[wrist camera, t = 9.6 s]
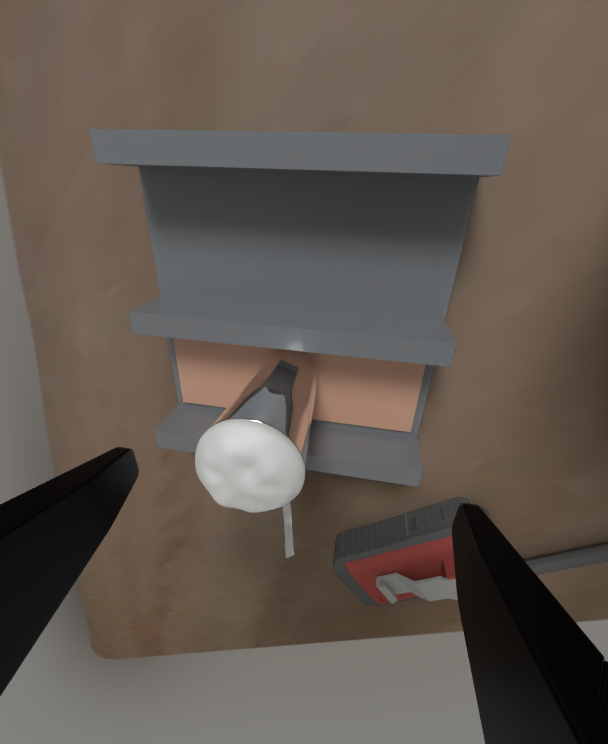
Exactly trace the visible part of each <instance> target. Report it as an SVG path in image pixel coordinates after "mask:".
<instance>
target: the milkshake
mask: <svg viewBox="0 0 608 744" xmlns="http://www.w3.org/2000/svg"><path fill="white" fill-rule="evenodd" d="M316 388H317V374H316V366H315V365H314V364H313V363H312V362H311V361H310V359H309V358H308V357H307V356H306V355H305V354H303V353H299V352H296V351H292V350H284V351H281V352H279V353H276V354H273V355H272V356H271V357H270V358H269V359H268V360H267V361H266V363H265V364H264V365H263V366H262V368H261V369H260V370H259V371H258V372H257V374H256V375H255V376H254V377H253V378H252V380H251V381H250V382H249V383H248V385H247V386H246V387H245V388H244V389H243V391H242V392H241V393H240V394H239V395H238V396H237V397H236V399H235V400H234V401H233V402H232V403H231V404H230V405H229V406H228V407H227V408H226V410H225V411H224V412H223V413H222V414H221V415H220V416H219V417H218V418H217V419H216V421H215V422H214V423H213V424H212V425H211V426H210V427H209V428H208V429H207V431H206V432H205V433H204V434H203V435H202V437H201V438H200V440H199V442H198V445H197V448H196V455H195V466H196V472H197V475H198V477H199V479H200V480H201V482H202V484H203V485H204V486H205V487H206V489H207V490H208V491H209V493H210V494H211V496H212V497H213V499H214V500H215V501H216V502H217V503H218V504H220V505H222V506H225V507H231V508H238V509H241V510H244V511H247V512H251V513H256V512H264V511H269V510H273V509H276V508H279V507H282V506H283V524H284V541H285V556H286V558H288V557H290V556H293V555H294V540H293V526H292V513H291V501H292V500H293V499H294V498H295V497H296V496H297V495H298V494H299V493H300V491H301V489H302V487H303V484H304V480H305V471H306V462H307V453H308V443H309V434H310V427H311V421H312V414H313V408H314V401H315V395H316Z"/></svg>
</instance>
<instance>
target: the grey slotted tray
mask: <svg viewBox="0 0 608 744" xmlns="http://www.w3.org/2000/svg"><path fill="white" fill-rule="evenodd" d="M89 132H90V137H91V141H92V146H93V151H94V155H95V160H96V163H98V164H111V165H124V166H136V167H139V173H140V179H141V185H142V191H143V197H144V202H145V208H146V214H147V220H148V226H149V232H150V238H151V244H152V250H153V256H154V262H155V267H156V273H157V279H158V285H159V291H160V296H159V297H157V298H155V299H153V300H151V301H149V302H147V303H145V304H143V305H141V306H139V307H137V308H135V309H133V310H131V311H129V315H130V320H131V324H132V329H133V334H141V335H151V336H160V337H167V338H168V344H169V350H170V356H171V362H172V368H173V374H174V380H175V385H176V391H177V397H178V403H179V405H178V407H177V408H176V409H175V410H174V411H173V412H172V413H171V414H170V416H169V417H168V418H167V419H166V420H165V421H164V422H163V423H162V425H161V426H160V427H159V428H158V429H157V430H156V431H155V434H156V439H157V443H158V447H162V448H169V449H175V450H182V451H188V452H195V453H196V448H197V445H198V442H199V440H200V438H201V437H202V435H203V434H204V433H205V432H206V431H207V429H208V428H209V427H210V426H211V425H212V424H213V423H214V422H215V421H216V419H217V418H218V417H219V416H220V415H221V414H222V413H223V412H224V411H225V410H226V408H227V407H228V406H229V405H230V404H231V403H232V402H233V401H234V400H235V399H236V397H237V396H238V395H239V394H240V393H241V392H242V391H243V389H244V388H245V387H246V386H247V385H248V383H249V382H250V381H251V380H252V378H253V377H254V376H255V375H256V374H257V372H258V371H259V370H260V369H261V368H262V366H263V365H264V364H265V363H266V361H267V360H268V359H269V358H270V357H271V356H272V355H273V354H276V353H279V352H281V351H284V350H292V351H296V352H299V353H303V354H305V355H306V356H307V357H308V358H309V359H310V361H311V362H312V363H313V364H314V365H315V366H316V374H317V388H316V395H315V401H314V408H313V414H312V421H311V427H310V434H309V443H308V453H307V462H306V470H311V471H318V472H324V473H331V474H337V475H344V476H350V477H357V478H363V479H370V480H376V481H383V482H389V483H396V484H402V485H409V486H415V487H419V484H420V481H421V477H422V473H423V469H422V463H421V457H420V451H419V445H418V439H417V436H418V432H419V428H420V423H421V419H422V415H423V411H424V406H425V402H426V398H427V394H428V390H429V385H430V381H431V377H432V373H433V369H434V365H435V366H445V367H451V363H452V359H453V355H454V352H455V348H456V344H457V343H456V341H455V339H454V337H453V335H452V333H451V331H450V329H449V327H448V325H447V324H446V322H445V318H446V314H447V310H448V306H449V301H450V297H451V293H452V289H453V285H454V280H455V276H456V272H457V268H458V263H459V259H460V255H461V251H462V247H463V242H464V238H465V234H466V230H467V226H468V221H469V217H470V213H471V209H472V205H473V200H474V196H475V192H476V188H477V184H478V179H479V177H489V176H501V173H502V170H503V166H504V162H505V158H506V154H507V151H508V147H509V143H510V139H511V135H480V134H412V133H345V132H277V131H209V130H141V129H89Z"/></svg>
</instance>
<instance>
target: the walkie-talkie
mask: <svg viewBox="0 0 608 744" xmlns="http://www.w3.org/2000/svg"><path fill="white" fill-rule="evenodd" d="M460 503H469V504H470V502H469V501H468V499H467V498H463V497H457V498H454V499H451V500H447V501H444V502H441V503H437V504H434V505H431V506H427V507H424V508H421V509H417V510H414V511H411V512H408V513H404V514H403V515H401V516H399V515H398V516H397V517H394V518H393V517H391V519H388V520H387V519H384V521H378V523H372V524H371V525H366V526H364V527H362V526H361V527H360V528H358V529H357V528H355V529H354V530H349V531H348V532H345V531H344V532H343V533H341V534H340V533H339V534H338V536H337V539H336V544H335V553H334V563H333V569H334V571H335V573H336V574H337V576H338V577H339V578H340V579H341V580H342V581H343V582H344V583H345V585H346V586H347V587H348V588H349V589H350V590H351V591H352V592H353V593H354V594H355V596H356V597H357V598H358V599H359V600H360V601H361V602H362V603H363V604H364V605H383V604H387V603H391V604H393V603H395V602H398V601H403V600H409V599H414V598H419V597H421V598H423V599H425V600H427V601H436V600H441V599H447V598H449V599H454V600H458V599H457V590H456V579H455V567H454V555H453V542H452V524H453V521H454V518H455V515H456V512H457V509H458V506H459V505H460ZM481 509H482V510H483V511H484V512H485V514H486V515H487V516H488V517H489V518H490V520H491V521H492V519H491V516H490V515H489V513H488V511H487V510H485V509H484V508H481ZM492 522H493V521H492ZM524 561H525V562H526V563H527V564H528V566H529V567H530V568H531V569H532V570H533V572H534V573H535V574H536V575H538V574H543V573H548V572H554V571H559V570H564V569H569V568H575V567H580V566H585V565H590V564H596V563H601V562H606V561H608V543H604V544H599V545H594V546H589V547H584V548H580V549H575V550H570V551H565V552H561V553H556V554H551V555H546V556H541V557H537V558H532V559H527V560H524Z"/></svg>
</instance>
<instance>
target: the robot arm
mask: <svg viewBox="0 0 608 744" xmlns="http://www.w3.org/2000/svg"><path fill="white" fill-rule="evenodd" d="M138 473H139V469H138V465H137V461H136V458H135V455H134V452H133V450H132V449H129V448H123V447H117V448H114V449H112V450H110V451H108V452H106V453H104V454H102V455H100V456H98V457H96V458H94V459H92V460H90V461H88V462H86V463H84V464H82V465H80V466H78V467H76V468H74V469H72V470H70V471H67V472H65V473H63V474H61V475H59V476H57V477H55V478H53V479H51V480H49V481H47V482H45V483H43V484H41V485H39V486H37V487H35V488H33V489H31V490H29V491H27V492H25V493H23V494H21V495H19V496H17V497H15V498H12V499H10V500H9V501H6V502H5V503H2V504H0V696H1V694H2V693H3V691H4V690H5V688H6V687H7V685H8V683H9V682H10V681H11V679H12V678H13V676H14V675H15V673H16V671H17V670H18V668H19V667H20V665H21V664H22V662H23V661H24V659H25V658H26V656H27V655H28V653H29V652H30V650H31V649H32V647H33V646H34V644H35V643H36V641H37V639H38V638H39V636H40V635H41V633H42V632H43V630H44V629H45V627H46V626H47V624H48V623H49V621H50V620H51V618H52V617H53V615H54V613H55V612H56V610H57V609H58V607H59V605H60V604H61V603H62V601H63V600H64V598H65V597H66V595H67V594H68V592H69V591H70V589H71V588H72V586H73V585H74V583H75V581H76V580H77V578H78V577H79V575H80V574H81V572H82V571H83V569H84V568H85V566H86V565H87V563H88V562H89V560H90V559H91V557H92V556H93V554H94V552H95V551H96V549H97V548H98V546H99V545H100V543H101V542H102V540H103V539H104V537H105V536H106V534H107V532H108V531H109V529H110V528H111V526H112V524H113V522H114V521H115V519H116V517H117V515H118V513H119V511H120V510H121V508H122V506H123V504H124V502H125V500H126V498H127V496H128V494H129V493H130V491H131V489H132V487H133V485H134V483H135V481H136V479H137V477H138ZM452 542H453V555H454V567H455V579H456V590H457V599H458V605H459V610H460V615H461V621H462V626H463V631H464V635H465V641H466V646H467V652H468V657H469V662H470V667H471V672H472V677H473V682H474V688H475V693H476V698H477V703H478V708H479V714H480V719H481V723H482V729H483V734H484V739H485V744H608V662H607V661H604V656H603V655H602V654H601V653H600V652H599V650H598V649H597V648H596V647H595V645H594V644H593V643H592V642H591V641H590V640H589V638H588V637H587V636H586V634H584V632H583V631H582V630H581V628H580V627H579V626H578V625H577V624H576V622H575V621H574V620H573V619H572V618H571V616H570V615H569V614H568V613H567V612H566V610H565V609H564V608H563V607H562V605H561V604H560V603H559V602H558V601H557V599H556V598H555V597H554V596H553V595H552V593H551V592H550V591H549V590H548V589H547V587H546V586H545V585H544V584H543V582H542V581H541V580H540V579H539V578H538V576H537V575H536V574H535V573H534V572H533V570H532V569H531V568H530V567H529V566H528V564H527V563H526V562H525V561H524V560H523V558H522V557H521V556H520V555H519V553H518V552H517V551H516V550H515V549H514V547H513V546H512V545H511V544H510V543H509V541H508V540H507V539H506V538H505V537H504V535H503V534H502V533H501V532H500V531H499V529H498V528H497V527H496V526H495V524H494V523H493V522H492V521H491V520H490V518H489V517H488V516H487V515H486V514H485V512H484V511H483V510H482V509H481V508H480V507H479V506H478V505H475V504H469V503H460V505H459V506H458V509H457V512H456V515H455V518H454V521H453V524H452Z"/></svg>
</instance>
